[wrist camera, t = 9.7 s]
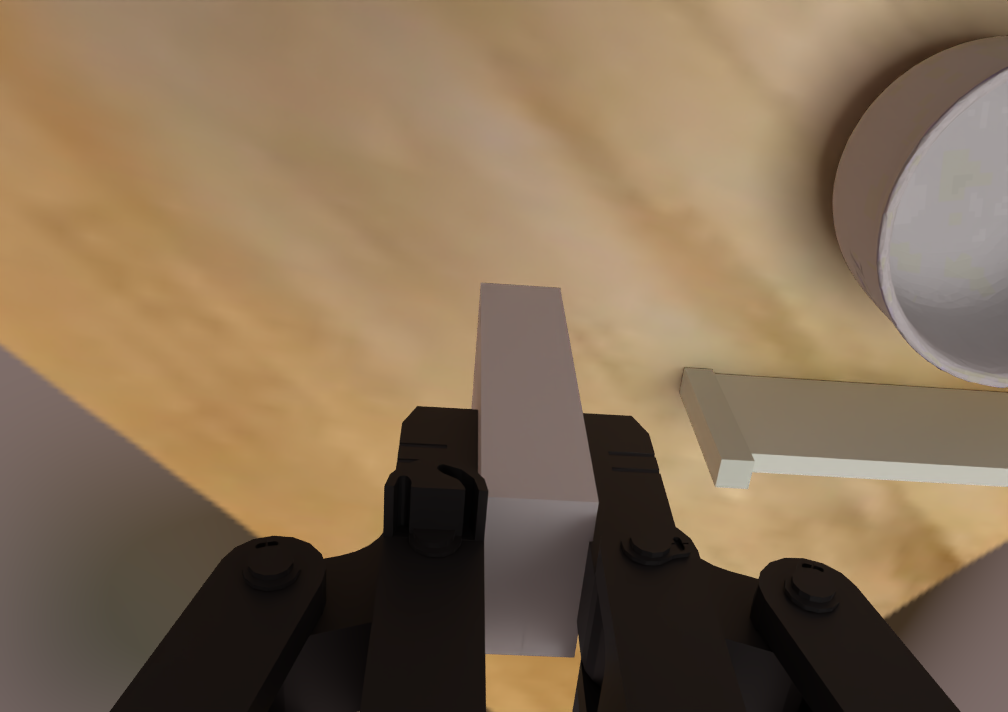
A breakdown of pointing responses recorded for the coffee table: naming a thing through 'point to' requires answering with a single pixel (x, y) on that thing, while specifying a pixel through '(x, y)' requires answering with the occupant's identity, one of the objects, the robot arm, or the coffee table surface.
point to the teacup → (935, 208)
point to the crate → (845, 430)
